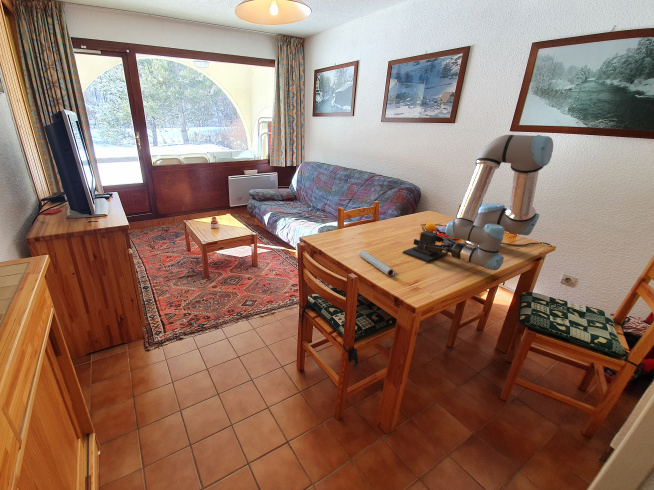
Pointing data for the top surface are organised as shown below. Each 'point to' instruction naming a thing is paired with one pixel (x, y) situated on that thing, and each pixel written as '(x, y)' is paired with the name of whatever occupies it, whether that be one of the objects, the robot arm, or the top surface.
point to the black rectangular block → (427, 239)
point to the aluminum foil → (377, 263)
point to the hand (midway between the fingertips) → (421, 238)
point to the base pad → (423, 254)
